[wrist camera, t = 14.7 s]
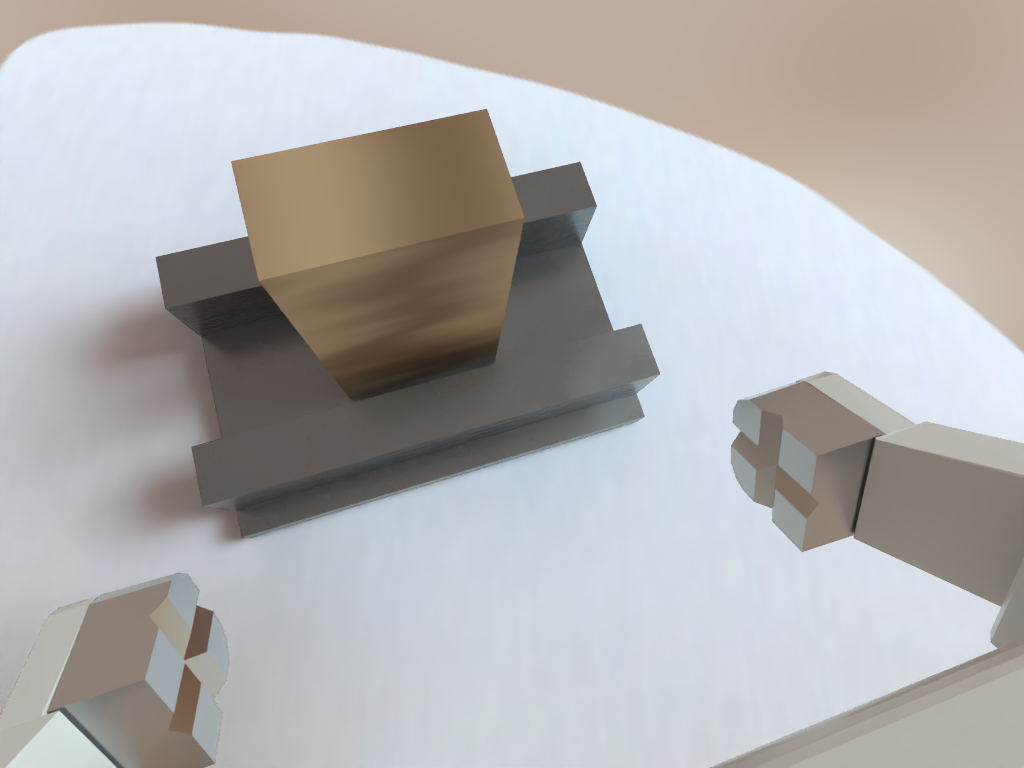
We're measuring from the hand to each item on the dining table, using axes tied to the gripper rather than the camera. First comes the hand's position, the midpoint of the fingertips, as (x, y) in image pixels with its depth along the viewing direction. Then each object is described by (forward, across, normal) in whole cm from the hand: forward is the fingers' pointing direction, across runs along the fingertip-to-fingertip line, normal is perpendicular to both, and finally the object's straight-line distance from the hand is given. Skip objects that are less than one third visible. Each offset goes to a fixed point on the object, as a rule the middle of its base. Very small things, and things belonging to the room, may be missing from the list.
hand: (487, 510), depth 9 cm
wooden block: (+15, 0, +5) cm, 16 cm away
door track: (+16, 0, +6) cm, 17 cm away
